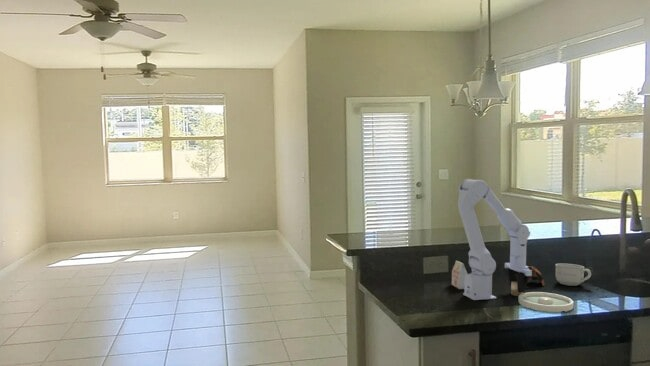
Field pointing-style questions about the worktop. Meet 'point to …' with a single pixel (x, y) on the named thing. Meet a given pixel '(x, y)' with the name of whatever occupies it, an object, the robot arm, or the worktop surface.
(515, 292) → the maple bead
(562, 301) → the groove tray
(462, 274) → the white rectangular block
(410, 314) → the worktop surface
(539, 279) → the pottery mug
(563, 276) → the teacup
